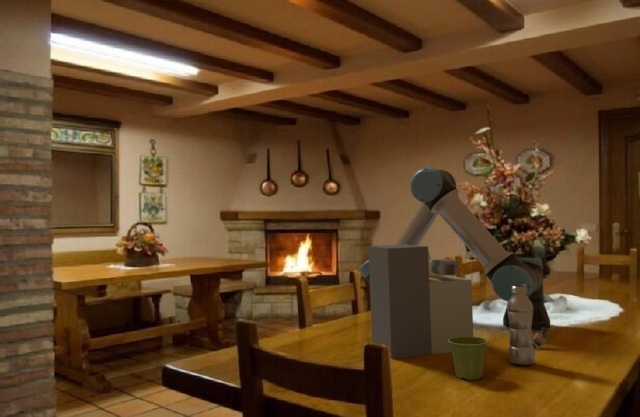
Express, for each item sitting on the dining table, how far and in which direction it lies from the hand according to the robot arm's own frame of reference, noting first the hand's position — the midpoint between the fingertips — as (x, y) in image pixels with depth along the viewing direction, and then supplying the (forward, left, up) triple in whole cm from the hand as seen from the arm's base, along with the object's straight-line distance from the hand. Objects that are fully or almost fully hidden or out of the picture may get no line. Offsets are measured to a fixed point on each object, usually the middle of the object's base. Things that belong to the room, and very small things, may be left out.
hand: (423, 256), depth 171 cm
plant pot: (-23, +33, -26) cm, 48 cm away
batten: (-2, +2, -4) cm, 5 cm away
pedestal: (-2, +11, -26) cm, 28 cm away
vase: (-33, -3, -26) cm, 42 cm away
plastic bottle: (-32, +17, -26) cm, 45 cm away
